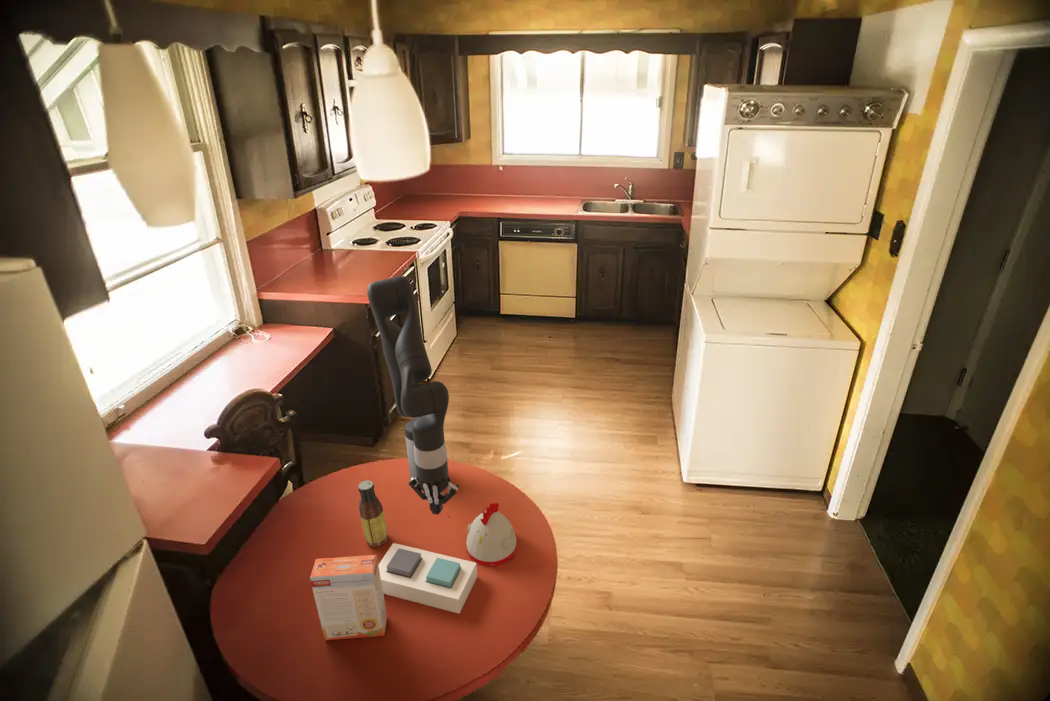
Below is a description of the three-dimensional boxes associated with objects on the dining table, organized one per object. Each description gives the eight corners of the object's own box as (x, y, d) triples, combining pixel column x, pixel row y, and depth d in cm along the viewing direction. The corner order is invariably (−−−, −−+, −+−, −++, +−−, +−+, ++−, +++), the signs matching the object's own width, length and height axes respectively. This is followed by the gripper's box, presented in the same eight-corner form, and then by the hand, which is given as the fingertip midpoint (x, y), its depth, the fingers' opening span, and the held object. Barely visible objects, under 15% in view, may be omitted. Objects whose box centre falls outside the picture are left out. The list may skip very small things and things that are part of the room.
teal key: (438, 568, 156) (437, 557, 154) (460, 574, 154) (460, 563, 152) (427, 587, 150) (426, 576, 149) (451, 593, 149) (449, 582, 147)
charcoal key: (400, 559, 159) (398, 548, 157) (422, 564, 157) (420, 553, 155) (388, 577, 153) (386, 566, 151) (411, 583, 152) (409, 572, 150)
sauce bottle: (391, 532, 171) (383, 477, 162) (384, 548, 166) (375, 493, 157) (369, 531, 172) (359, 476, 163) (361, 547, 166) (351, 491, 157)
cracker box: (387, 615, 146) (377, 553, 137) (384, 637, 141) (373, 574, 131) (329, 619, 146) (315, 556, 136) (324, 641, 140) (308, 577, 131)
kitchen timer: (456, 554, 164) (453, 512, 157) (483, 522, 175) (481, 482, 168) (500, 573, 158) (499, 530, 151) (525, 539, 169) (524, 498, 162)
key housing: (395, 556, 163) (393, 542, 161) (477, 576, 157) (476, 562, 155) (372, 590, 153) (370, 576, 151) (459, 613, 147) (458, 599, 144)
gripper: (463, 452, 142) (467, 506, 150) (412, 443, 145) (419, 496, 154) (450, 472, 136) (455, 528, 144) (398, 462, 139) (405, 517, 148)
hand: (436, 511), depth 149 cm, fingers closed
